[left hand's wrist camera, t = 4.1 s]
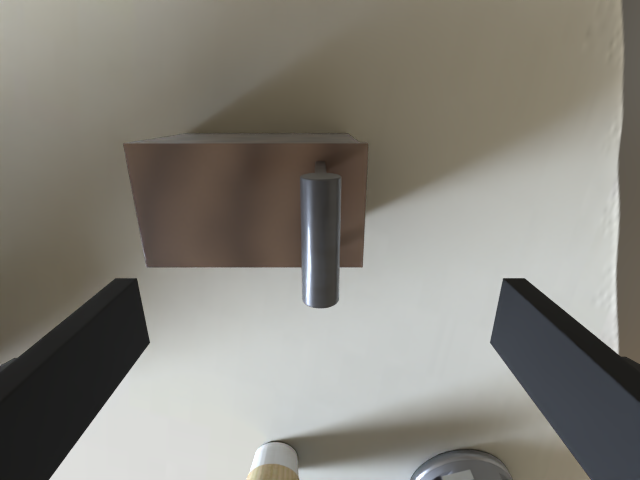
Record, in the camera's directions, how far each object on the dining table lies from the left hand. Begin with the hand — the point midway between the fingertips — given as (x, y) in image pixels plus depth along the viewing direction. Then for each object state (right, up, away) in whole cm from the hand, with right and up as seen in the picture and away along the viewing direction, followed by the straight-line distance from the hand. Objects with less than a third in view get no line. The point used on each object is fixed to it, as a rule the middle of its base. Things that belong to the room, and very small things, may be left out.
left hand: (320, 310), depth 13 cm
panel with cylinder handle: (-5, +5, +14) cm, 16 cm away
